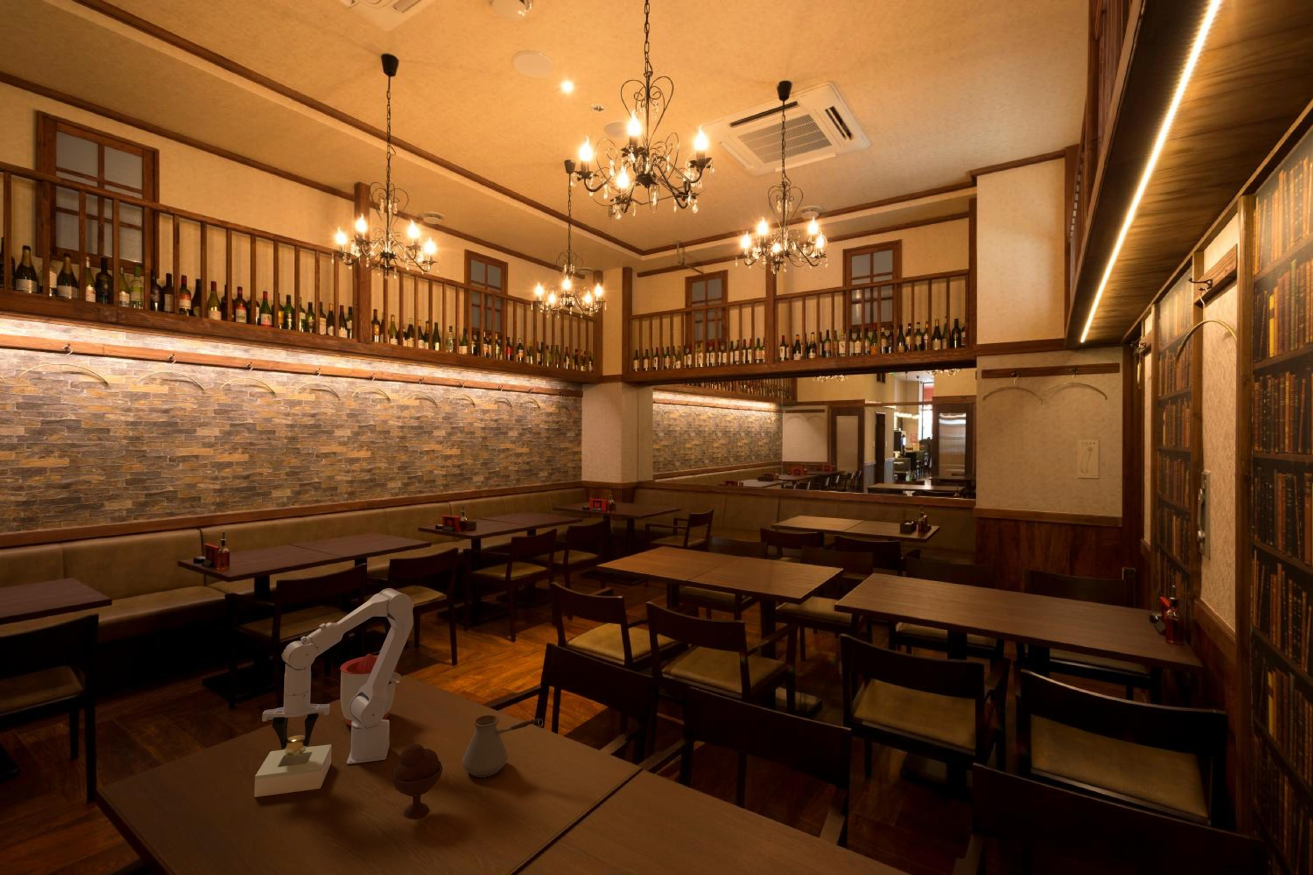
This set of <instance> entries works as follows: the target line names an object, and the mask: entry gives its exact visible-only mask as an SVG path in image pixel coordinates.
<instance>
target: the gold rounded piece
mask: <svg viewBox="0 0 1313 875" xmlns="http://www.w3.org/2000/svg"><path fill="white" fill-rule="evenodd" d="M306 747H307V746H305V735H303V734H301V735H300V734H298V735H293V736H290V737H287V740H286V741H285V749H284V750H285V755H287V756H295V755H299V754H302V753H303V752H305V751H306Z"/></svg>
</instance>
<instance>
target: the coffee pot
mask: <svg viewBox="0 0 1313 875" xmlns="http://www.w3.org/2000/svg"><path fill="white" fill-rule="evenodd" d="M499 721H500V719H499V716H497V715H494V714H483V715H479V716H478V717H476V718H475V719H474V720H473V725H474V726H475V731H474V732H473V735H472V737H471V739H470V742H469V744H468V746H467V749H466V751H465V753H464V756H463V758H462V765H463V767H464V769H465V770H466V772H468V773H469V774H470V775H471V776H473V777H475V776H476V777H475V778H487V776H488V777H492V776H494V775H495V773H496V774H497V773H499V771H500V770H502V769H503V768H504V766H505V765H506V763H507V762H508V759H509V754H508V752H507V749H506V747H505V745H504V742H503V740H502V738H501V735H502V734H504V733H507V732H510V731H514V730H518V729H522V728H525V727H527V726H530V725H534V724H535V723H537V725H538V727H539V728H541V727H542V726H543V725H544V722H543V719H542V718H540V717H538V718H535V719H533V718H532V719H530V720H527V721H523V722H520V723H516V724H514V725H511V726H510V727H506V728H503V729H499V730H498V728H497V724H498V723H499ZM540 721H541V725H540ZM493 774H494V775H493ZM491 775H492V776H491Z"/></svg>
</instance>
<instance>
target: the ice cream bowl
mask: <svg viewBox="0 0 1313 875" xmlns="http://www.w3.org/2000/svg"><path fill="white" fill-rule="evenodd" d="M399 762H400V764H399V765H397V766H396V767H395V768H394V769H393V770H392V771H391V774H392V780H393V781H392V782H393V786H394V788H395V789H396V790H397V791H398V792H399V793H401V794H402V795H405V796H407V797H411V798H412V803H411V804H408V805H407V806H406V807H405V808H404V810H403V816H404V817H405V818H408V819H418V818H421V817H424V816H425V815H426V814H427V813H428V812H429V811H430V809H429V805H428V804H427V803H426V802H423V801H421V800H422V797H421V796H422V795H425V794H426V793H428V792H429V791H430V790H431V789H432V788H433V787H434V786H436V784H437V783H438V782H439V780H440V779H441V776H442V773H443V765H442V762H441V761H440V760H439V756H438V754H437V752H436V751H434V750H433V749H431V748H424V746H423V744H419V743H409V744H408V745H407V746H405V747H403V750H402V751H401V753H400V754H399Z"/></svg>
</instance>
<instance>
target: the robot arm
mask: <svg viewBox="0 0 1313 875" xmlns="http://www.w3.org/2000/svg"><path fill="white" fill-rule="evenodd" d="M414 607H415V604H414V602H413V601H412V599H411V598H410V596H409V595H408V594H406V593H403V592H400V591H398V590H396V589H394V588H392V587H391V588H390V587H389V588H384V589H382V590H381V591H380V592H378V593H376V594H374V595H372V597H370V598H369V599H368V600H367V601H366V602H364V603H363V604H362V605H360V606H359V607H357V608H356V609H354V610H352V611H351V612H350V613H349V614H347V615H346V616H344V617H343V618H342V619H340V620H339V621H337V622H331V621H330V622H327V623H324V622H323V623H321V624H320V625H319V626H318V627H319V628H317V629H316V630H315V631H312V632H311V633H310V634H307V635H306V636H304V635H303V636H302V637H300V640H295V641H292V642H290V643H289V644H287V645H286V647H285V648H284V650H283V652H282V654H281V658H282V661H283V662H285V665H284V666H285V667H284V668H285V669H284V670H285V671H284V681H283V682H284V686H283V690H284V691H283V707H282V706H281V707H278V708H273V709H266V710H264V711H263V712H262V716H261V718H262V719H261V720H262V722H268V721H269V720H272V723H271V726H272V727H271V728H272V729H273V730H274V732H275V733H276V736H277V738H278V740H279V744H280V748H281V749H280V750H285V741H286V740H287V739H288V723H289V718H299V717H306V716H307V717H306V718H305V720H304V728H305V729H304V731H305V732H304V734H305V735H304V736H305V746H306V747H309V744H310V743H311V736H312V733H313V730H314V727H315V725H316V723H317V720H318V718H319V717H320V715H323V716H327V715H329V714H330V711H331V708H330V706H331V704H330V703H328V704H327V703H326V704H323V703H321V704H318V703H316V704H315V703H311V689H312V688H311V686H312V685H311V683H312V671H311V670H312V668H311V667H312V664H313V663H314V662H315V659H316V658H317V657H318V656H320V655H321V654H323V653H324V652H325V651H326V652H327V650H329V649H331V647H333V646H335V645H336V644H338V643H339V642H341V641H342V639H343V636H344V634H345V633H347V632H349V631H350V630H352V629H354V628H355V627H357V626H359V625H360V624H362V623H364V622H366V621H367V620H369V619H371V618H373V617H384V618H385V617H386V619H387V620H388V622H389V624H390V628H389V631H388V633H387V635H386V638H385V640H384V642H383V645H382V646H381V649H380V650H379V652H378V653H379V654H378V655H379V656H378V658H377V660H376V663H375V665H374V667H373V669H372V672H371V674H370V676H369V679H368V681H367V683H366V684H364V685H363V686H362V687H360V689H359V691H358V693H357V694H356V695H355V696H354V697H353V699H352V700H351V701H350V704H349V712H350V713H351V714H352V715H353V720H352V726H351V729H350V730H351V733H350V752H349V755H348V757H347V760H346V765H352V764H360V763H361V764H362V763H370V762H378V761H384V760H386V759H387V756H388V752H389V748H390V720H389V719H385V720H383V719H382V718H383V717H384V714H385V704H386V701H387V693H386V688H387V686H388V683H389V681H390V678H391V676H392V674H393V671H394V669H395V667H396V664H397V665H398V662H399V660H400V657H401V656H402V655H401V654H402V653H403V650H404V648H405V645H406V643H407V641H408V639H409V637H410V633H411V631H412V629H413V627H414V613H413V609H414ZM396 668H397V667H396Z"/></svg>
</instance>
